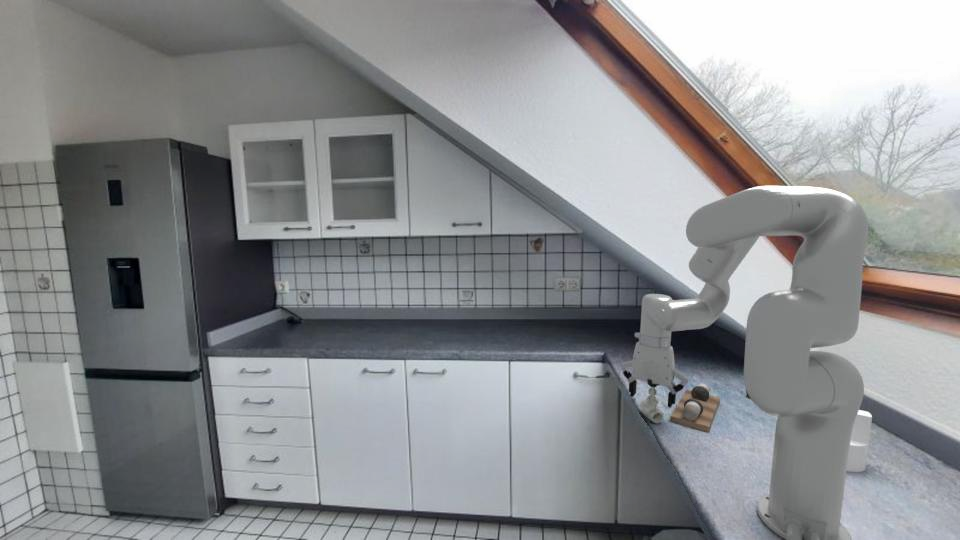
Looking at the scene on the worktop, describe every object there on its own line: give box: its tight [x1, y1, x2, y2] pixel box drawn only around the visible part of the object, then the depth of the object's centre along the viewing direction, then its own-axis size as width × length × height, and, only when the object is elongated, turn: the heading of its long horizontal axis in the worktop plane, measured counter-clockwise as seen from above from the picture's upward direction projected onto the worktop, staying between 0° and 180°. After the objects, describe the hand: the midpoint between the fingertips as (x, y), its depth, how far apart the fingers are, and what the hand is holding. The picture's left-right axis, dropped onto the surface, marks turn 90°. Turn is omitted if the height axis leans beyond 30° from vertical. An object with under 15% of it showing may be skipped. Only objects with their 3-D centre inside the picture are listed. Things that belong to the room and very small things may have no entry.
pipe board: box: [669, 382, 721, 433], centre depth 107 cm, size 21×9×6 cm, turn 141°
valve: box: [639, 379, 665, 425], centre depth 103 cm, size 7×7×12 cm
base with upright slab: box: [846, 409, 873, 473], centre depth 85 cm, size 9×9×12 cm
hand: (651, 400), depth 103 cm, fingers open, 9 cm apart
